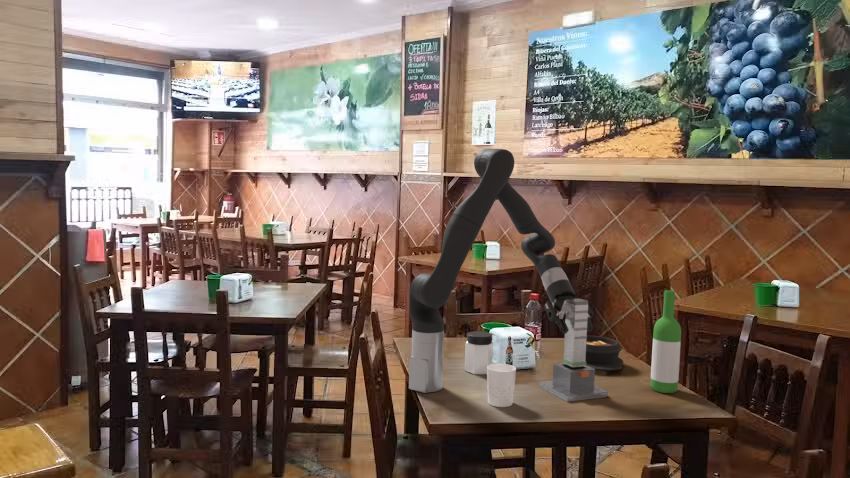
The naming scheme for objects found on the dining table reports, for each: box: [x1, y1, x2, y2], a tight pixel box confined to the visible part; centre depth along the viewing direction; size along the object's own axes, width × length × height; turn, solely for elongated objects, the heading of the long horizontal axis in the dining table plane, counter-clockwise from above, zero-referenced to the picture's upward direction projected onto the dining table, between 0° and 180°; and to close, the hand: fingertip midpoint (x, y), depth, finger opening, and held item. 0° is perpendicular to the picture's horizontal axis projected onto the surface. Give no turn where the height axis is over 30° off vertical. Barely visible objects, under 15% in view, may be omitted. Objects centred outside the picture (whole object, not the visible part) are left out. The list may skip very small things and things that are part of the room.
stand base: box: [538, 362, 609, 403], centre depth 185 cm, size 14×14×8 cm
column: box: [562, 298, 589, 367], centre depth 184 cm, size 5×5×19 cm
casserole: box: [585, 335, 624, 371], centre depth 214 cm, size 25×19×8 cm
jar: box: [464, 330, 494, 375], centre depth 203 cm, size 9×8×12 cm
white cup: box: [486, 363, 517, 408], centre depth 173 cm, size 8×8×10 cm
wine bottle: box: [649, 289, 682, 394], centre depth 188 cm, size 8×8×30 cm
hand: (578, 331), depth 182 cm, fingers open, 8 cm apart
